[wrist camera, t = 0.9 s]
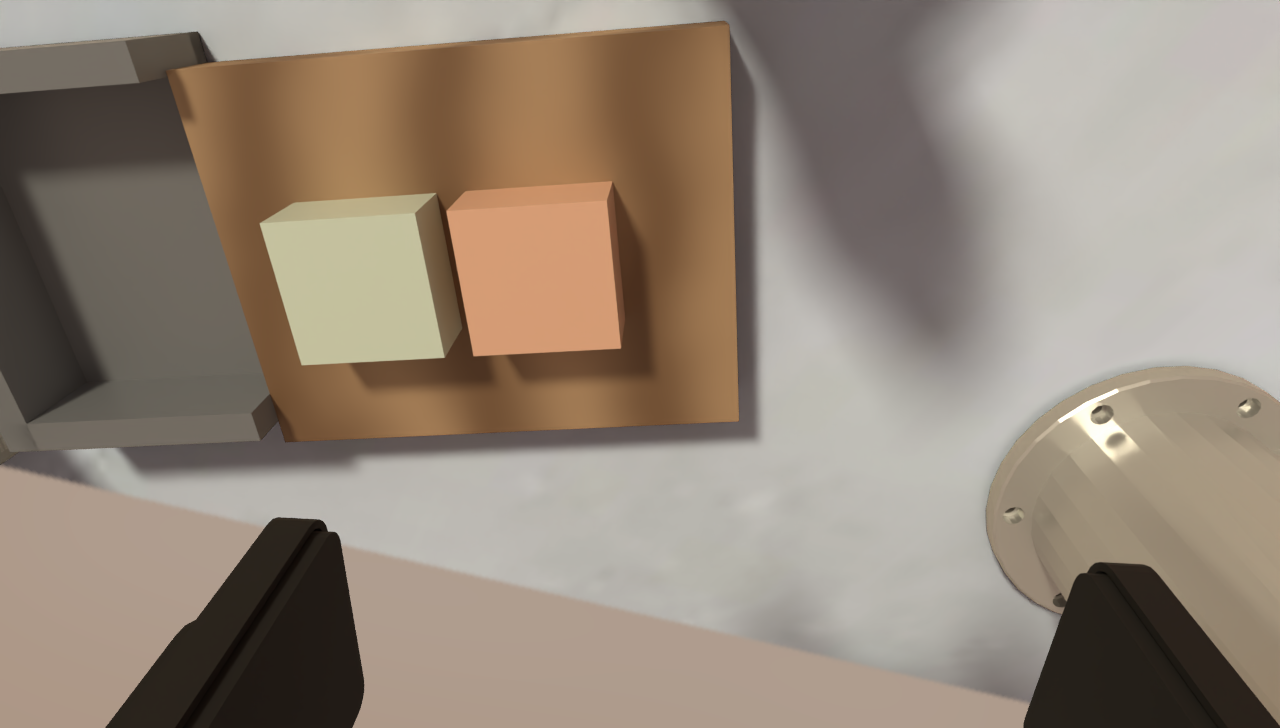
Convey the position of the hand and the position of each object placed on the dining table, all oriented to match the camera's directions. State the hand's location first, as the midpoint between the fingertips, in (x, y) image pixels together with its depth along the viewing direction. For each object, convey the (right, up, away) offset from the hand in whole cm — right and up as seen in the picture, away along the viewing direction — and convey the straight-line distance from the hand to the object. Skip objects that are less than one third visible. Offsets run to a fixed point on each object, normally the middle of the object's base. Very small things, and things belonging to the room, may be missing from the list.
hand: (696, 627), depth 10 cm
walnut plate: (-6, +8, +20) cm, 22 cm away
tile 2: (-4, +7, +17) cm, 19 cm away
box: (-20, +8, +20) cm, 30 cm away
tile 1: (-10, +7, +18) cm, 21 cm away
